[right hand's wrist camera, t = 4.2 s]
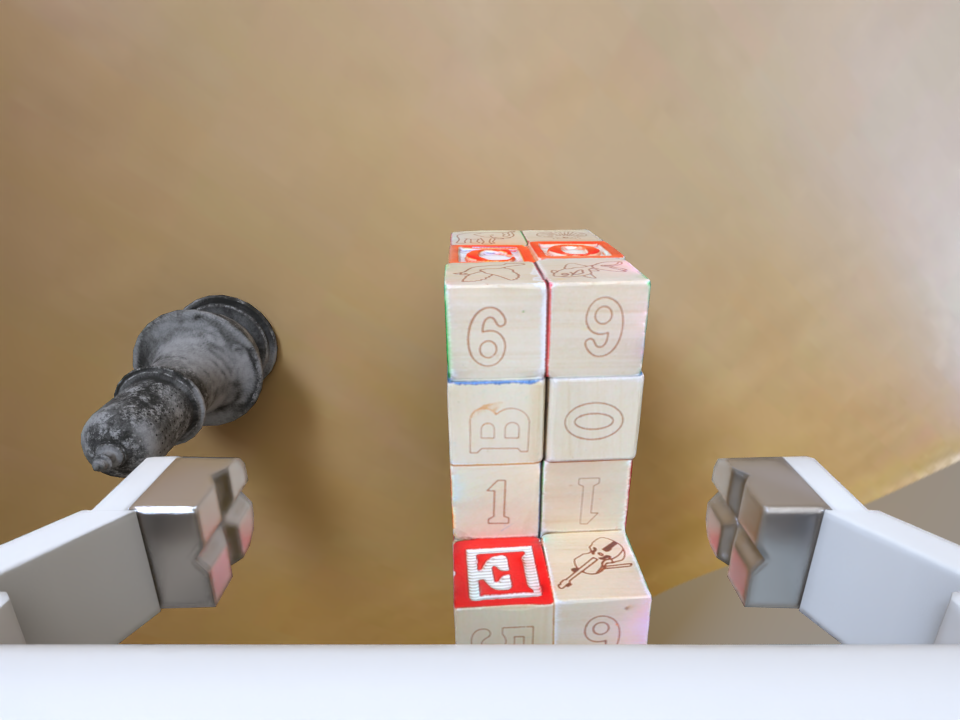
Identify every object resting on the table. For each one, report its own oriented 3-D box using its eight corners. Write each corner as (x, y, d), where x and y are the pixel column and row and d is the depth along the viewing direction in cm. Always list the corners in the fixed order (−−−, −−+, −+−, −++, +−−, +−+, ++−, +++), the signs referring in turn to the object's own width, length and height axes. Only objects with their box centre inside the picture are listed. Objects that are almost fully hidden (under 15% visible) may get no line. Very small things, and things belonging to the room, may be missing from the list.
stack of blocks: (446, 228, 25) (442, 311, 14) (589, 226, 25) (702, 306, 14) (456, 607, 33) (458, 860, 22) (565, 603, 33) (624, 851, 22)
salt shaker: (303, 331, 30) (217, 449, 19) (250, 413, 32) (142, 567, 21) (199, 266, 29) (40, 354, 18) (148, 356, 30) (-27, 489, 19)
